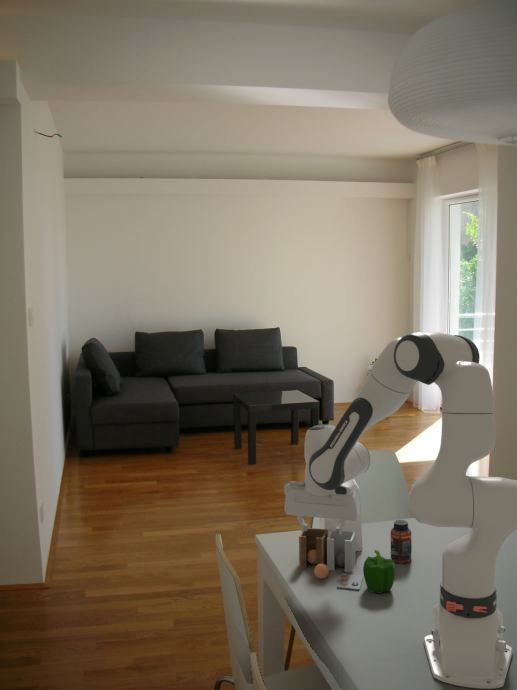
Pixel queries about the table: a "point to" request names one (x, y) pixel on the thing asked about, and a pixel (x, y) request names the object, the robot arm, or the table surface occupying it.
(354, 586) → the card
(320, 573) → the loose ball
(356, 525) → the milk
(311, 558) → the tube ball terracotta
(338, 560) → the tube ball charcoal
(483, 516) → the robot arm
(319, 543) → the walnut tube
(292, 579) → the table surface
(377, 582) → the bell pepper
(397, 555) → the supplement bottle
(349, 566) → the grey tube
